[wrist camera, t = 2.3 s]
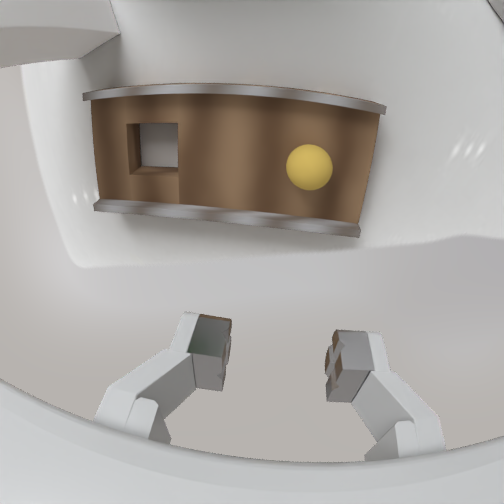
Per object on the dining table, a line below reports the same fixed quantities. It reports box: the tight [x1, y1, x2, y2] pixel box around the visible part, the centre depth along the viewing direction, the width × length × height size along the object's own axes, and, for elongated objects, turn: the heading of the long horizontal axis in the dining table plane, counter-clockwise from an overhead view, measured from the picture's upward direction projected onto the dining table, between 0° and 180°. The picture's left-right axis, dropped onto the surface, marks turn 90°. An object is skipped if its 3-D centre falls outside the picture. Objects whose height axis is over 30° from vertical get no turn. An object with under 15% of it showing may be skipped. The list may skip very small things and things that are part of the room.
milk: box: [0, 0, 120, 68], centre depth 14 cm, size 6×6×22 cm
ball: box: [286, 144, 333, 190], centre depth 26 cm, size 4×4×4 cm
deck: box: [83, 83, 387, 238], centre depth 28 cm, size 28×13×4 cm, turn 86°
